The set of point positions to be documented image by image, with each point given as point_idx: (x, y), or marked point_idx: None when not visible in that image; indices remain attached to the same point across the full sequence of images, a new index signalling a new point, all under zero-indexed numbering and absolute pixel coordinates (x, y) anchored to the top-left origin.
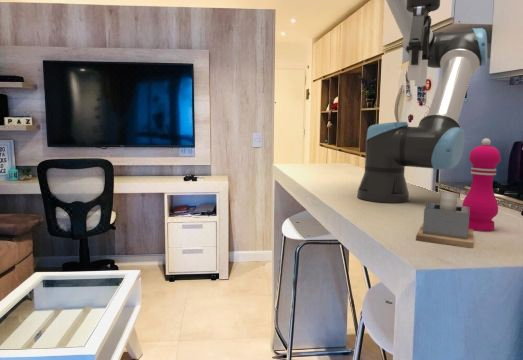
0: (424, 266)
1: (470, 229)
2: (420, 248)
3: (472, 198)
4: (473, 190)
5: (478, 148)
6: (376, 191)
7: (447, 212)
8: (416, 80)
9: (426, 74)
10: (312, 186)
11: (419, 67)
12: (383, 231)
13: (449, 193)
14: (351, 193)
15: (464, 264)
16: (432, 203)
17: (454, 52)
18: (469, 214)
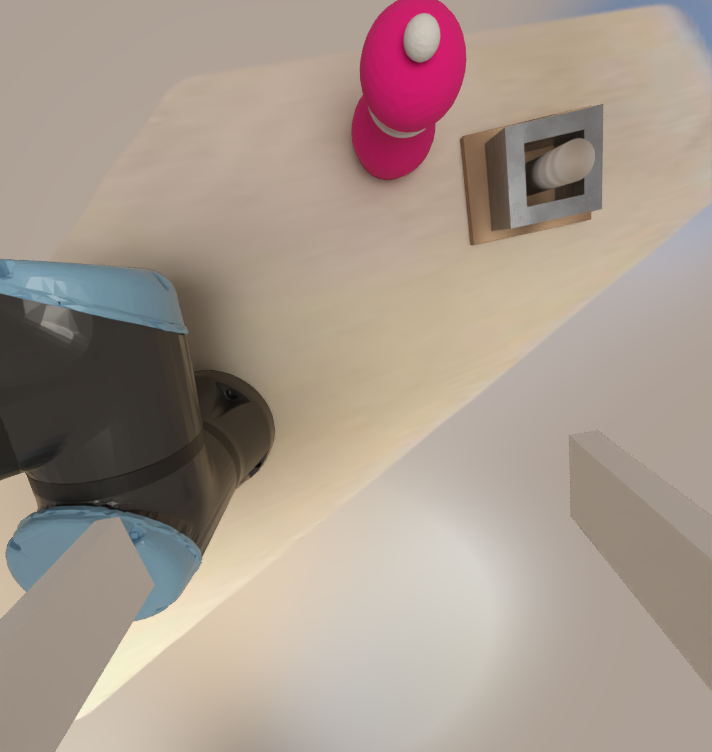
0: None
1: (469, 141)
2: (639, 193)
3: (430, 137)
4: (423, 132)
5: (451, 76)
6: (265, 431)
7: (600, 156)
8: (125, 616)
9: (41, 605)
10: (198, 596)
11: (688, 507)
12: (550, 293)
13: (580, 158)
14: None
15: (707, 95)
16: (516, 217)
17: None
18: (602, 104)
